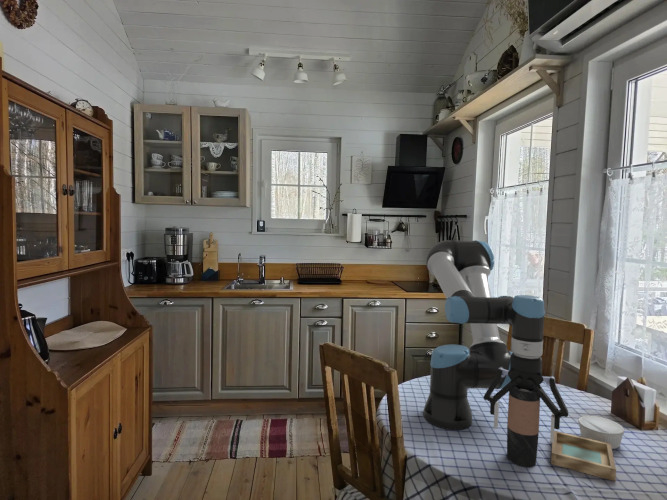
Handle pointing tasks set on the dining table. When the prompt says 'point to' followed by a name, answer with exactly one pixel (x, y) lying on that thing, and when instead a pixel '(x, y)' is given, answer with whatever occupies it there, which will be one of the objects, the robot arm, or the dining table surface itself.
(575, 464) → the tray
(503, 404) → the dining table surface
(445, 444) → the dining table surface
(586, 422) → the ramekin
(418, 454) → the dining table surface
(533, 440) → the travel mug
